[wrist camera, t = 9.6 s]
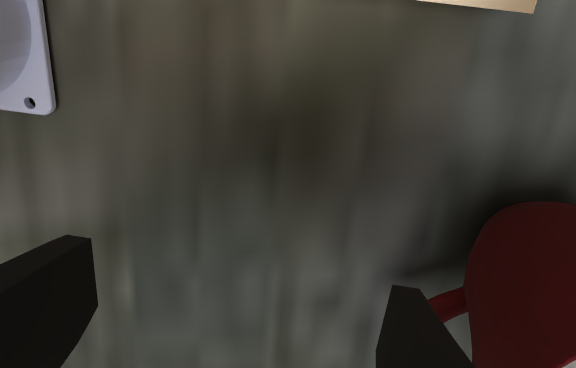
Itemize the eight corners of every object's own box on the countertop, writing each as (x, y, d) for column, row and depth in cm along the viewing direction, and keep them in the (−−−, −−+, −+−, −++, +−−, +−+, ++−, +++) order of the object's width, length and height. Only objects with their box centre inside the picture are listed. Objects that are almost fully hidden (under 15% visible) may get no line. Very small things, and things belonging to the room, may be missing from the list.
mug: (432, 345, 24) (489, 566, 15) (356, 235, 22) (370, 422, 13) (642, 264, 21) (875, 487, 12) (580, 124, 18) (815, 269, 9)
